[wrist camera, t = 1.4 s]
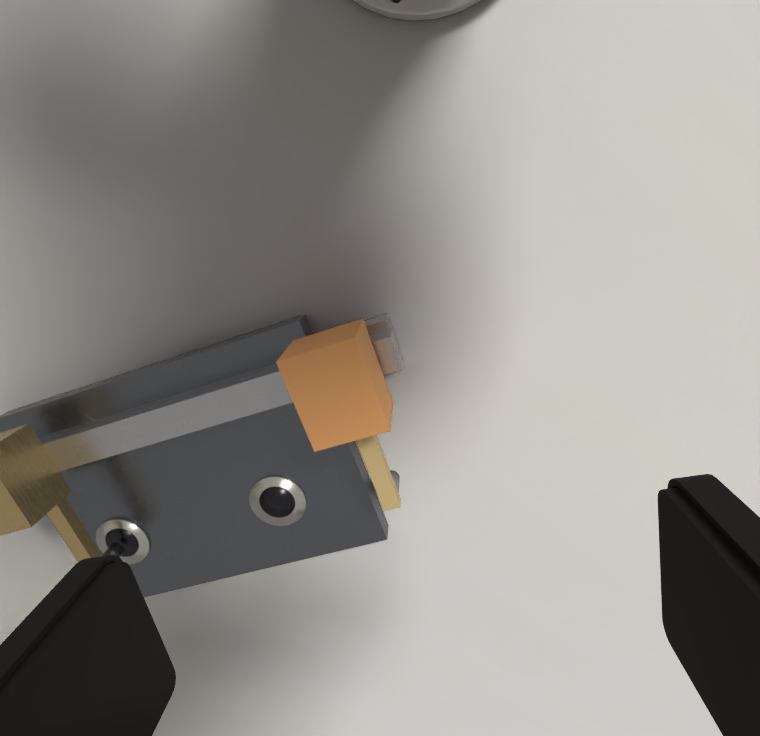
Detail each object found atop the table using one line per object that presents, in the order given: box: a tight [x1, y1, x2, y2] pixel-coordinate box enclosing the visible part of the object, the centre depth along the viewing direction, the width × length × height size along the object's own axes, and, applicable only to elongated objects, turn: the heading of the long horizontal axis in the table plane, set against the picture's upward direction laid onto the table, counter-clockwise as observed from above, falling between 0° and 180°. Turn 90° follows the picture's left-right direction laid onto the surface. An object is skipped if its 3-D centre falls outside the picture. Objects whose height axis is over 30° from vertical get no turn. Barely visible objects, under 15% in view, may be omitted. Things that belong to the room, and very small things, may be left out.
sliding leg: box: [276, 318, 401, 511], centre depth 27 cm, size 4×11×5 cm, turn 19°
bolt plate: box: [0, 314, 403, 597], centre depth 31 cm, size 27×16×7 cm, turn 109°
